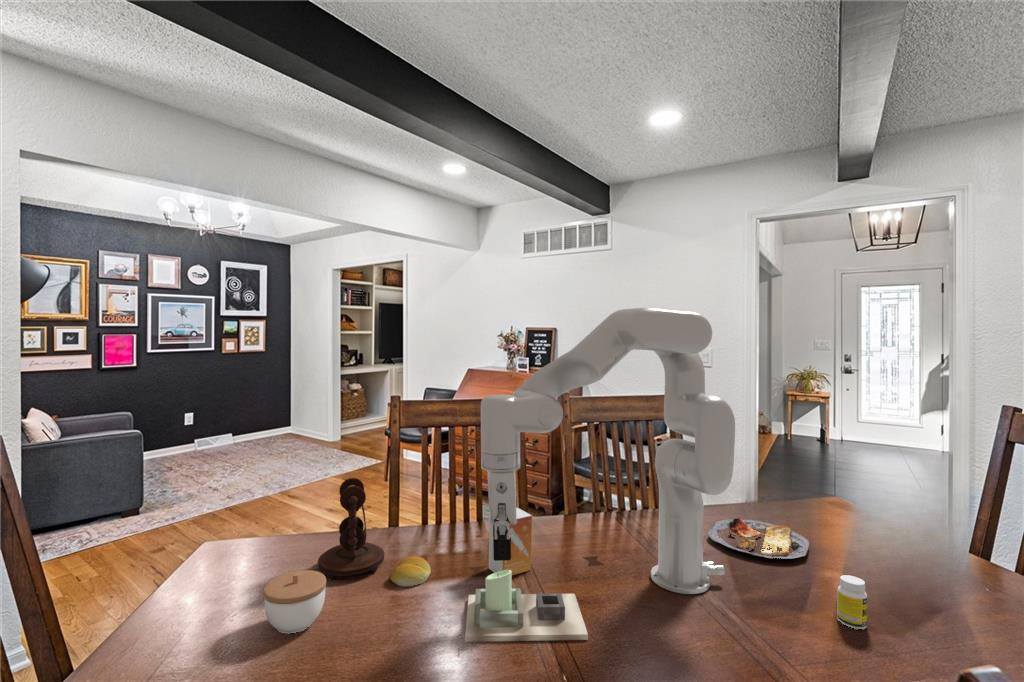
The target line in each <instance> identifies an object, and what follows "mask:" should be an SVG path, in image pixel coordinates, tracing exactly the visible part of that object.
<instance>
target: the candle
mask: <svg viewBox="0 0 1024 682" xmlns="http://www.w3.org/2000/svg"><path fill="white" fill-rule="evenodd" d="M512 577H513V575H512V571H511V570H503V571H499V572H496V573H494V572H493V573H491V574H489V575H487V576H486V577H485V579H484V580H485V581H484V582H485V583H484V585H485V588H484V589H485V611H512V589H513V587H512Z"/></svg>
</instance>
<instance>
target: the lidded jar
mask: <svg viewBox="0 0 1024 682" xmlns="http://www.w3.org/2000/svg"><path fill="white" fill-rule="evenodd" d="M326 586H327V578H326V576H325V574H324V573H323V572H321V571H316V570H309V569H306V570H305V569H304V570H302V569H301V570H296V571H295V570H294V571H290V572H286V573H284V574H280V575H279V576H277V577H274V578H272V579H271V580H270V581H268V582H267V583H266V585H265V586H264V588H263V598H264V599H263V601H264V603H263V604H264V613H265V615H266V618H267V620H268V623H269V624H270V625H271V626H272V627H274V629H276V630H277V631H278V633H280V632H281V633H280V634H282V633H288V634H287V635H290V634H289V633H295V634H297V633H296V632H299V631H302V630H304V629H306V628H307V627H309V626H310V625H311V624H312V625H313V623H314V622H315V620H316V619H318V617H319V615H320V614H321V613H322V610H323V607H324V603H325V599H326ZM312 622H313V623H312ZM312 625H311V626H312ZM311 626H310V627H311ZM310 627H309V628H310ZM307 629H308V628H307ZM307 629H306V630H307ZM304 631H305V630H304ZM302 632H303V631H302ZM299 633H300V632H299Z"/></svg>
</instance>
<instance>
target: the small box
mask: <svg viewBox="0 0 1024 682" xmlns="http://www.w3.org/2000/svg"><path fill="white" fill-rule="evenodd" d="M516 516H517V523H516V524H515V525H513V524H510V521H509V531H510V537H511V560H503V561H495V560H494V557H493V538H494V537H493V524H491V519H490V518H489V523H488V524H489V525H488V527H489V528H488V529H489V533H488V534H489V535H488V536H489V538H488V569H489V570H490V571H492V572H493V573H496V572H499V571H503V570H511V571H512V576H515V575H518V574H519V575H520V574H522V573H525V572H530V571H531V570H532V569H531V568H532V567H531V566H532V565H531V564H532V527H533V525H532V524H533V523H532V522H533V515H532V514H530V513H528V512H526V511H524V510H522V509H521V508H519V507H516ZM529 570H530V571H529Z"/></svg>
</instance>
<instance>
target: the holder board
mask: <svg viewBox="0 0 1024 682" xmlns="http://www.w3.org/2000/svg"><path fill="white" fill-rule="evenodd" d="M467 598H468V601H467V612H466V622H465V623H466V624H465V633H464V634H465V635H464V637H465V640H464V642H466V643H467V642H469V643H471V642H476V643H477V642H522V641H523V642H524V641H525V642H531V641H534V642H537V641H539V642H540V641H543V642H544V641H584V640H585V641H588V640H589V634H588V630H587V627H586V624H585V621H584V618H583V615H582V613H581V608H580V605H579V603H578V600H577V597H576V594H575V593H561V592H558V593H557V592H555V593H554V592H553V593H552V592H551V593H550V592H549V593H548V592H547V593H545V592H543V593H540V592H539V593H537V592H536V593H522V590H521V588H513V587H512V611H485V588H475V593H474V594H468V597H467Z"/></svg>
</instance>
